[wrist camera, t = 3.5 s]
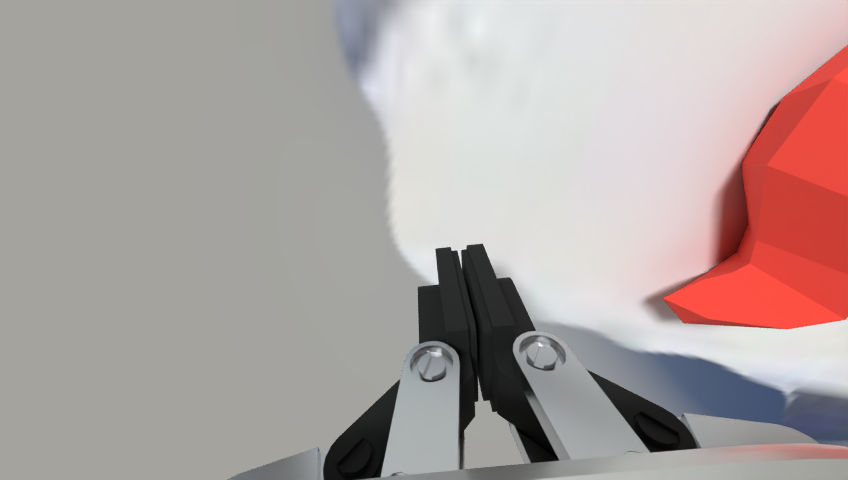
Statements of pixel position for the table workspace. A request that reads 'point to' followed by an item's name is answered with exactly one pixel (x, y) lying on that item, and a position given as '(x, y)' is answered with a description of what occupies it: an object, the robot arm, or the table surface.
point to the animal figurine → (788, 219)
